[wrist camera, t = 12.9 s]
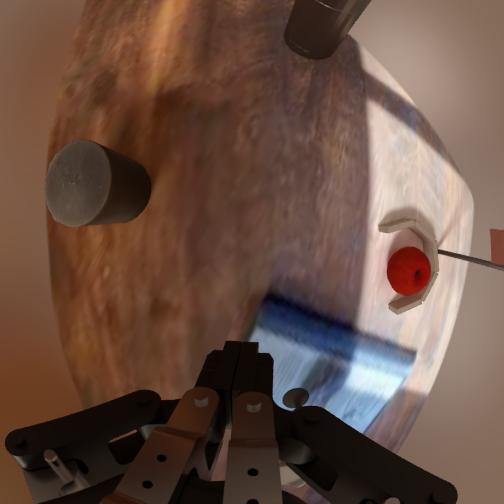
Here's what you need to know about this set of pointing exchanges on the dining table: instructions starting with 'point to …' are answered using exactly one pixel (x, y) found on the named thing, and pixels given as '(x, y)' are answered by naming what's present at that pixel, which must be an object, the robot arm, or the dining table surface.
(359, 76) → the dining table surface
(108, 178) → the pillar candle
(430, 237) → the cup
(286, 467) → the dish
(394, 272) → the apple
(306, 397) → the sundae
